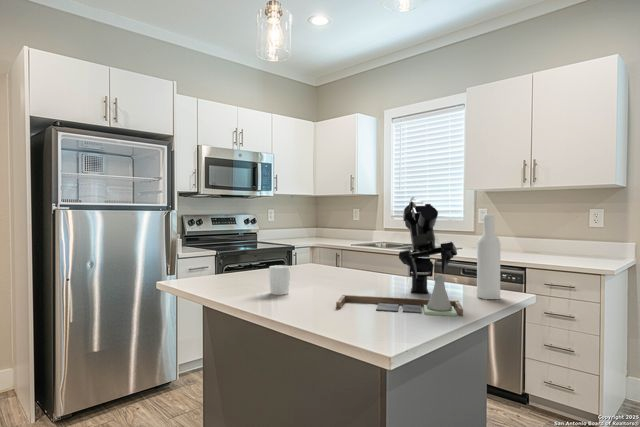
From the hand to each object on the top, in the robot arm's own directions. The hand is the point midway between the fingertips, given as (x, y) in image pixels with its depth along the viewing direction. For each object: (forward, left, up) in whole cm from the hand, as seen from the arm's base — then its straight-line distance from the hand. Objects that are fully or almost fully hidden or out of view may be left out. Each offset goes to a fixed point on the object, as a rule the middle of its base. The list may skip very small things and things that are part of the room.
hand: (429, 276), depth 137 cm
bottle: (-16, +21, -10) cm, 28 cm away
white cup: (-5, -54, -10) cm, 55 cm away
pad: (+10, +3, -9) cm, 14 cm away
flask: (+9, +3, -9) cm, 13 cm away
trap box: (+8, -10, -9) cm, 16 cm away
